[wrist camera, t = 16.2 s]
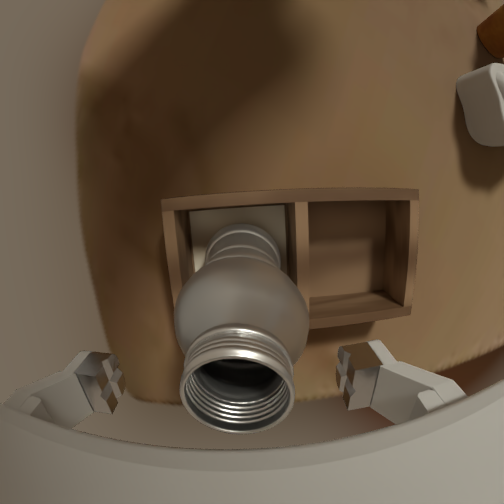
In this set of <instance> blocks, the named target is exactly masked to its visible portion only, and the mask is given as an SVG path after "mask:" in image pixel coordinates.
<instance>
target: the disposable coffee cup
mask: <svg viewBox="0 0 504 504" xmlns="http://www.w3.org/2000/svg"><path fill="white" fill-rule="evenodd" d="M477 33H478V36H479V38H480V40H481V42H482V44H483V45H484V46H485V48H486V49H487V50H488V51H489V52H490V54H492V55H493V56H494V57H496V58H503V57H504V5H502V6H501V7H500V8H499V9H498V10H496V11H495V12H494V13H493V14H492V15H490V16H489V17H488V18H487V19H486V20H485V21H483V22H482V23H481V24H480V25H479V26H478V27H477Z"/></svg>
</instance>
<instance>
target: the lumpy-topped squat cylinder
mask: <svg viewBox="0 0 504 504" xmlns="http://www.w3.org/2000/svg"><path fill="white" fill-rule="evenodd" d="M456 89H457V93H458V95H459V98H460V101H461V103H462V106H463V110H464V116H465V122H466V126H467V129H468V132H469V133H470V135H471V137H472V138H473V139H474V140H475V141H476V142H477V143H479V144H481V145H485V146H491V147H497V146H504V64H500V63H492V64H490V65H487V66H484V67H482V68H479V69H477V70H474V71H472V72H469V73H467V74H465V75H462V76H460V77H459V78H458V79H457V82H456Z"/></svg>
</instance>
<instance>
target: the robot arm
mask: <svg viewBox="0 0 504 504" xmlns="http://www.w3.org/2000/svg"><path fill="white" fill-rule="evenodd" d="M338 358H339V361H340V362H339V364H338V365H337V366H336V382H337V386H338V388H339V390H340V391H342V392H343V400H344V403H345V405H346V407H347V410H353V409H358V408H363V407H368V406H370V407H371V408H372V409H374V410H375V411H377V412H378V413H380V414H381V415H383V416H384V417H386V418H387V419H389V420H390V421H392V422H393V423H395V424H396V425H393V426H389V427H386V428H382V429H379V430H375V431H371V432H367V433H363V434H358V435H354V436H350V437H345V438H340V439H334V440H329V441H323V442H317V443H310V444H302V445H294V446H285V447H274V448H260V449H259V448H258V449H225V450H224V449H190V448H176V447H165V446H155V445H148V444H141V443H134V442H128V441H122V440H116V439H112V438H106V437H102V436H98V435H93V434H89V433H85V432H81V431H77V430H73V429H72V428H73V427H74V426H76V425H77V424H78V423H80V422H81V421H83V420H84V419H85V418H87V417H88V416H89V415H91V414H92V413H93V411H94V412H101V413H107V414H113V412H114V410H115V408H116V406H117V404H118V402H117V398H119V397H120V396H122V394H123V392H124V389H125V379H124V375H123V373H122V372H121V371H120V370H119V369H118V366H119V361H118V358H117V356H116V355H114V354H110V353H100V352H92V351H80V352H79V353H78V354H77V355H76V357H75V358H74V359H73V360H72V361H71V362H70V363H69V365H68V366H67V367H66V368H65V369H64V370H63V372H62V371H59V372H56V373H54V374H52V375H49V376H47V377H45V378H42V379H40V380H38V381H35V382H33V383H31V384H28V385H26V386H24V387H21V388H19V389H16V390H15V391H14V392H13V394H12V395H11V396H10V397H9V398H8V399H7V400H6V401H5V402H4V404H2V403H0V504H504V379H502V380H501V381H499V382H497V383H495V384H493V385H491V386H489V387H488V388H485V389H484V390H482V391H480V392H478V393H475V394H474V395H471V396H469V397H468V396H467V395H466V394H465V393H464V392H463V391H462V389H461V388H460V387H459V386H458V385H457V384H456V383H455V382H454V381H453V380H451V379H448V378H445V377H443V376H440V375H437V374H434V373H431V372H429V371H426V370H423V369H420V368H418V367H415V366H412V365H410V364H407V363H404V362H402V361H400V362H397V361H396V360H395V358H394V357H393V356H392V355H391V353H390V352H389V351H388V350H387V348H386V347H385V346H384V345H383V343H382V342H381V341H380V340H378V339H377V340H372V341H367V342H363V343H358V344H352V345H346V346H340V347H339V349H338Z"/></svg>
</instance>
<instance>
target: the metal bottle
mask: <svg viewBox="0 0 504 504" xmlns="http://www.w3.org/2000/svg"><path fill="white" fill-rule="evenodd" d="M280 268H281V257H280V252H279V249H278V246H277V244H276V242H275V241H274V239H273V238H272V237H271V236H270V235H269V234H268V233H267V232H266V231H264V230H263V229H261V228H259V227H257V226H254V225H251V224H244V223H239V224H232V225H229V226H226V227H224V228H222V229H220V230H219V231H218V232H217V233H216V234H214V236H213V237H212V238H211V239H210V241H209V243H208V245H207V249H206V253H205V265H204V266H203V267H201V268H200V269H199V270H198V271H197V272H195V273H194V274H193V275H192V276H191V277H190V279H189V280H188V281H187V282H186V284H185V285H184V286H183V287H182V289H181V290H180V293H179V295H178V297H177V299H176V303H175V308H174V327H175V333H176V337H177V341H178V344H179V346H180V348H181V350H182V352H183V354H184V355H185V361H184V371H183V374H182V376H181V380H180V398H181V400H182V403H183V405H184V407H185V408H186V410H187V411H188V412H189V413H190V414H191V415H192V417H193V418H195V419H196V420H197V421H199V422H200V423H202V424H203V425H205V426H207V427H209V428H212V429H215V430H217V431H220V432H225V433H230V434H251V433H257V432H261V431H264V430H267V429H270V428H272V427H273V426H275V425H277V424H278V423H280V422H281V421H283V420H284V419H285V418H286V416H287V415H288V414H289V413H290V411H291V409H292V407H293V404H294V400H295V387H294V382H293V375H294V372H293V365H294V364H295V363H296V362H297V361H298V359H299V358H300V356H301V355H302V353H303V351H304V348H305V346H306V342H307V337H308V331H309V312H308V309H307V305H306V302H305V300H304V298H303V296H302V294H301V292H300V291H299V289H298V288H297V287H296V285H295V284H294V283H293V282H292V280H291V279H290V278H289V277H288V276H287V275H286V274H285V273H284V272H282V271H281V270H280Z"/></svg>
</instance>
